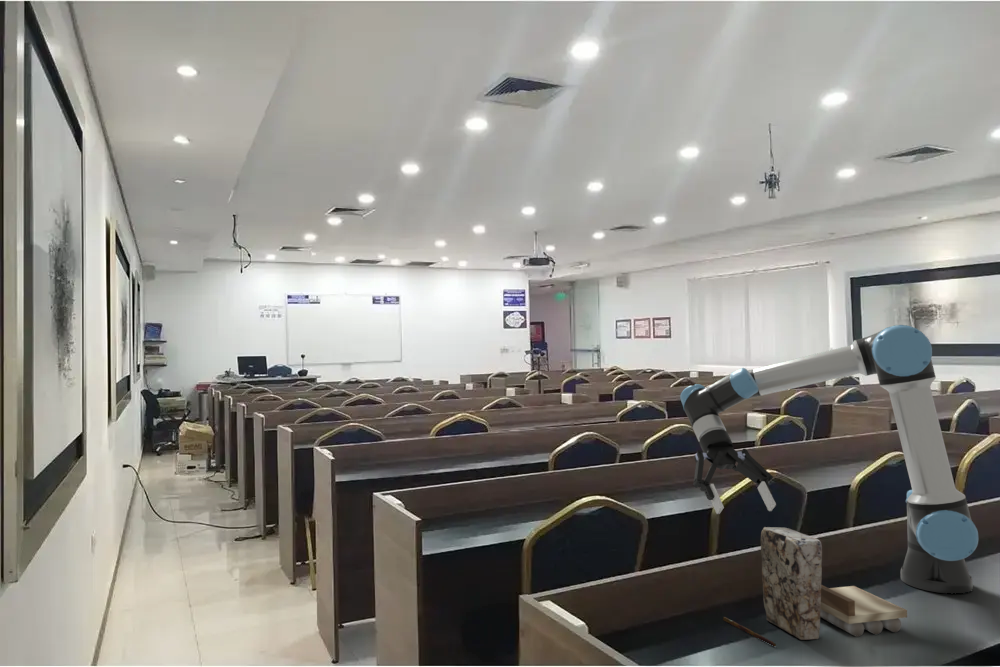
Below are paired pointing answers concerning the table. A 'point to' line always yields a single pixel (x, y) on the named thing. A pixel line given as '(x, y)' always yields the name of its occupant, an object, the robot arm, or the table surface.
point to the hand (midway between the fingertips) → (746, 509)
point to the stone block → (792, 581)
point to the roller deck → (859, 610)
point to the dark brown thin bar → (748, 631)
